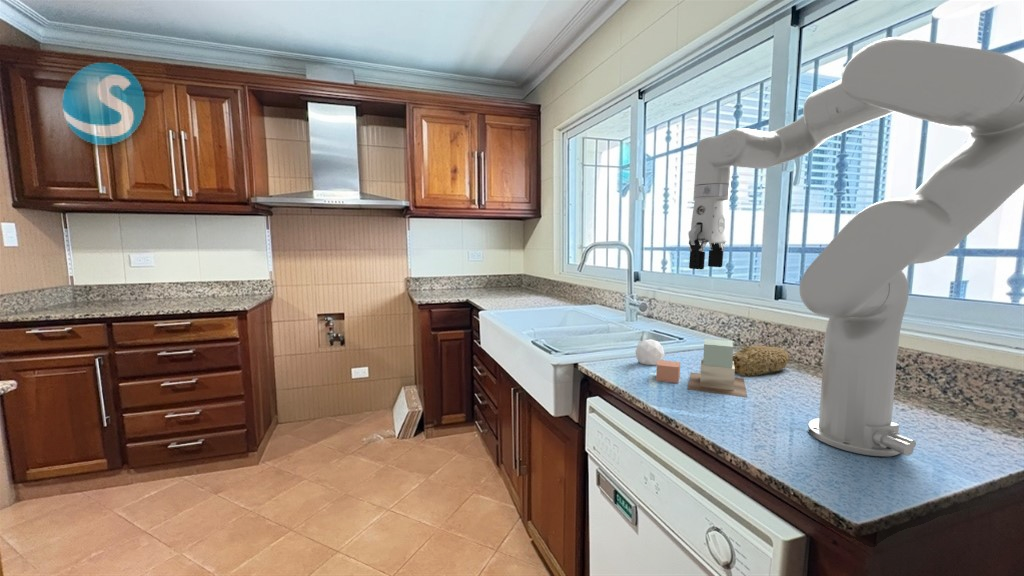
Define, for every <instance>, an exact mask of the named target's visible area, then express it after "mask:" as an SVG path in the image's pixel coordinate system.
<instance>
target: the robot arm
mask: <svg viewBox="0 0 1024 576" xmlns="http://www.w3.org/2000/svg"><path fill="white" fill-rule="evenodd" d="M894 113H898V114H901V115H905V116H908V117H913V118H916V119H920V120H923V121H925V122H926V121H927V122H930V123H932V124H935V125H939V126H943V127H947V128H952V129H955V130H959V131H962V132H967V134H969V138H968V139H967V141H966V143H965V144H964V145H963V146H961V147H960V149H958V150H957V151H955V152H954V153H953V154H952V155H950V156H949V157H948V158H947V159H945V160H944V161H942V162H941V163H940V165H938V166H937V167H936V168H935V170H934V171H933V172H932V173H931V174H930V175H929V177H928V178H927V179H926V180H924V182H923V183H921V185H920V186H919V187H918V188H917V189H915V190H914V191H913V192H912V193H910V195H909V196H908V197H896V198H888V199H884V200H881V201H877V202H875V203H872V204H870V205H869V206H867V207H865V208H864V209H863V210H861V211H859V212H858V213H857V214H855V215H854V216H853V217H852V218H851V219H850V220H849V221H848V222H847V223H846V225H845V226H844V227H843V228H841V230H840V231H839V232H838V233H837V235H836V236H834V237H833V239H832V240H831V241H830V242H829V243H828V244H827V246H826V247H825V248H824V249H823V250H822V251H821V252H820V254H819V255H818V256H817V257H816V258H815V259H814V260H813V261H812V262H811V263H810V265H809V266H808V267H807V269H806V270H805V272H804V273H803V275H802V278H801V279H800V284H799V296H800V299H801V302H802V303H803V305H804V306H805V307H806V308H807V309H808V310H809V311H810V312H811V313H814V314H816V315H817V316H821V317H824V318H828V321H827V324H826V329H825V335H824V342H823V343H824V344H823V357H822V367H821V368H822V369H821V385H820V386H821V387H820V399H819V413H818V414H819V415H818V418H814V419H812V420H809V422H808V423H807V427H808V429H807V431H808V433H809V434H810V435H811V436H813V438H815V439H817V440H818V441H820V442H822V443H824V444H827V445H829V446H830V447H833V448H836V449H838V450H842V451H846V452H849V453H853V454H859V455H865V456H871V457H893V456H897V455H899V454H902V455H903V456H908V457H909V456H911V455H912V454H913V452H914V449H915V447H916V446H917V443H916V440H914V439H912V438H910V437H908V436H903V435H901V434H900V433H899V428H900V425H899V424H898V423H896V422H893V421H892V420H893V409H894V408H893V407H894V399H895V398H894V396H895V387H896V386H895V385H896V373H897V372H896V371H897V361H898V360H897V359H898V353H899V343H900V336H901V327H902V323H903V318H904V316H905V312H906V308H907V304H908V300H909V293H910V286H909V280H908V278H907V276H906V274H905V273H904V271H903V270H904V269H905V268H906V267H908V266H909V265H914V264H916V265H917V264H924V263H929V262H934V261H936V260H939V259H941V258H943V257H945V256H946V255H948V254H949V253H951V251H952V250H954V249H955V248H956V247H957V246H958V245H960V244H961V242H962V241H963V240H964V239H965V238H966V237H967V236H969V234H971V233H972V232H973V231H974V230H975V229H976V228H977V227H979V226H980V225H981V224H982V223H983V222H984V221H985V220H986V219H987V218H989V216H991V215H993V213H995V211H997V210H998V209H999V207H1000V206H1002V205H1003V204H1004V202H1006V201H1007V200H1008V199H1009V198H1010V197H1011V196H1012V195H1013V194H1014V193H1016V192H1017V191H1018V190H1019V189H1020V188H1021V187H1022V186H1023V185H1024V62H1023V61H1020V60H1018V59H1017V58H1015V57H1012V56H1010V55H1007V54H1004V53H1002V52H998V51H995V50H987V49H981V48H975V47H974V48H973V47H968V46H967V47H966V46H960V45H953V44H946V43H939V42H931V41H926V40H920V39H915V38H914V39H913V38H910V37H909V38H908V37H904V36H893V37H890V36H889V37H885V38H882V39H879V40H875V41H874V42H872V43H870V44H867V45H866V46H864V47H863V48H861V49H859V50H858V51H857V52H856V53H855V54H854V55H853V56H852V57H851V59H850V60H849V61H848V62H847V64H846V65H845V66H844V69H843V71H842V74H841V79H839V80H837V81H835V82H833V83H831V84H828V85H826V86H824V87H823V88H821V89H817V90H816V91H813V92H812V93H811V94H810V95H808V97H807V98H806V100H805V101H804V104H803V112H802V116H801V117H800V118H798V119H797V120H796V121H793V122H792V123H789V124H787V125H784V126H782V127H779V128H778V129H776V130H773V131H764V130H760V129H758V130H757V129H752V128H746V127H737V128H733V129H730V130H729V131H726V132H724V133H721V134H719V135H716V136H709V137H704V138H703V139H700V140H699V142H698V143H697V146H696V156H695V173H694V184H693V185H694V188H693V198H692V199H693V201H694V203H693V210H692V216H691V225H690V226H691V227H690V230H689V231H688V233H687V234H688V239H689V240H688V244H689V249H688V251H689V261H688V263H689V264H688V267H689V269H691V270H704V269H705V258H706V251H704V250H705V247H706V246H707V243H708V244H709V247H710V249H709V250H708V259H707V261H708V262H707V267H711V268H722V267H723V261H724V250H725V244H726V243H727V242H728V240H729V233H730V232H729V230H730V229H729V227H730V210H729V209H730V208H729V201H730V193H731V186H732V185H731V184H732V183H731V182H732V171H733V167H739V168H748V169H749V168H750V169H758V170H759V169H761V170H762V169H768V168H772V167H773V168H774V167H776V166H779V165H782V164H785V163H787V162H790V161H793V160H795V159H798V158H800V157H803V156H805V155H807V154H809V153H810V152H812V151H814V150H815V149H816V148H818V147H819V146H821V145H822V144H823V143H825V141H826V140H828V139H830V138H832V137H835V136H837V135H840V134H843V133H844V132H848V131H850V130H852V129H855V128H858V127H860V126H863V125H865V124H868V123H871V122H873V121H875V120H879V119H881V118H884V117H886V116H889V115H891V114H894Z"/></svg>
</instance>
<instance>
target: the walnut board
mask: <svg viewBox="0 0 1024 576" xmlns="http://www.w3.org/2000/svg"><path fill="white" fill-rule="evenodd" d="M700 374H701V372H692V371H691V372H690V375H689V381H688V385H687V390H688V391H696V392H702V393H703V392H704V393H711V394H718V395H726V396H732V397H733V396H734V397H739V398H740V397H742V398H747V399H748V393H747V389H746V383H745V379H744V378H741V377H734V391H733V390H726V389H718V388H710V387H703V386H700Z"/></svg>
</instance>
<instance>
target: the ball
mask: <svg viewBox="0 0 1024 576" xmlns="http://www.w3.org/2000/svg"><path fill="white" fill-rule="evenodd" d="M635 357H636V359H637V360H638V362H639V363H640V364H642V365H646V366H657V363H658V361H659V360H664V357H665V351H664V347H663V346H662V345H661V343H660V342H659V341H658V340H654V339H644V340H642V341H640V342H639V343H638V344H637V347H636V349H635Z"/></svg>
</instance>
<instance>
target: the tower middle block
mask: <svg viewBox="0 0 1024 576" xmlns="http://www.w3.org/2000/svg"><path fill="white" fill-rule="evenodd" d="M733 354H734V343H733V341H732V340H722V339H721V340H720V339H709V338H704V342H703V357H702V358H703V365H707V366H716V367H725V368H732V363H733Z"/></svg>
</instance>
